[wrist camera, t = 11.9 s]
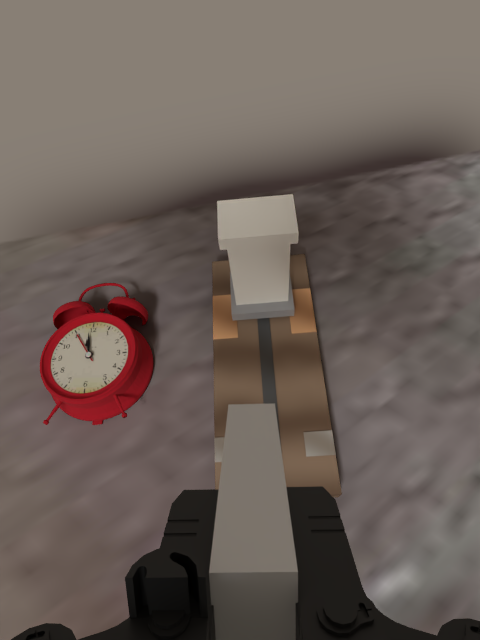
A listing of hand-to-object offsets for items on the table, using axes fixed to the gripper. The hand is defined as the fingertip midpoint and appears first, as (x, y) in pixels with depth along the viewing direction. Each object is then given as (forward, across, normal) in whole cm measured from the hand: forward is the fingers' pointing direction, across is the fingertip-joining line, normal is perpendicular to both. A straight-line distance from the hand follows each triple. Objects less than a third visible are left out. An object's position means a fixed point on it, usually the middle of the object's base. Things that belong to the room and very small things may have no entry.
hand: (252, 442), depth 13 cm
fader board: (+26, +1, -7) cm, 27 cm away
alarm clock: (+28, -15, -6) cm, 33 cm away
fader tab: (+29, +1, 0) cm, 29 cm away
